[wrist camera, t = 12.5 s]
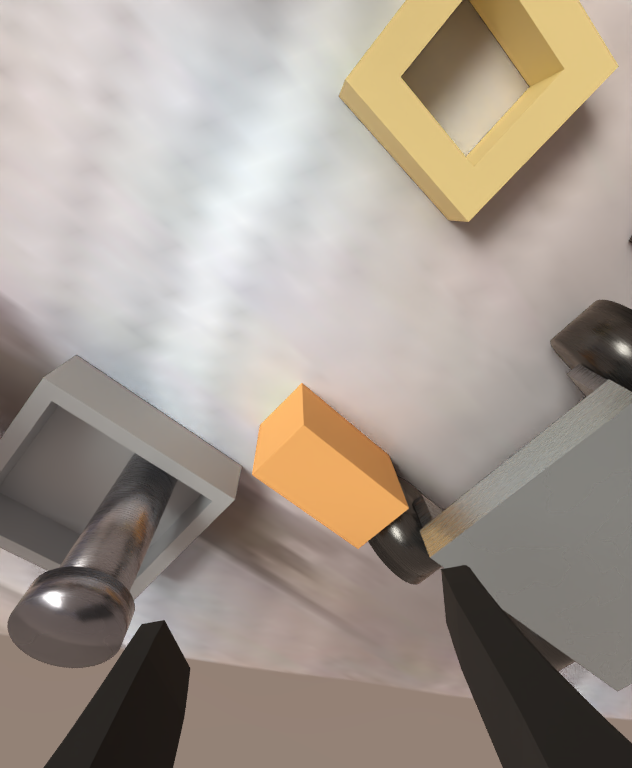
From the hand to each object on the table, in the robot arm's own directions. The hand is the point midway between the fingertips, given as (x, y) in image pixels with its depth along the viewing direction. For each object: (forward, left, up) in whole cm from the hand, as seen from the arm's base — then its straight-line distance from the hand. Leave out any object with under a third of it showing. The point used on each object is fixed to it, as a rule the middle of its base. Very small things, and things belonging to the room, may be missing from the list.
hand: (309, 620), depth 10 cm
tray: (-5, -8, -10) cm, 14 cm away
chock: (+1, 0, -10) cm, 10 cm away
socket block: (-5, +14, -10) cm, 18 cm away
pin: (-4, -6, -9) cm, 12 cm away
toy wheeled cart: (+12, +6, -10) cm, 17 cm away
